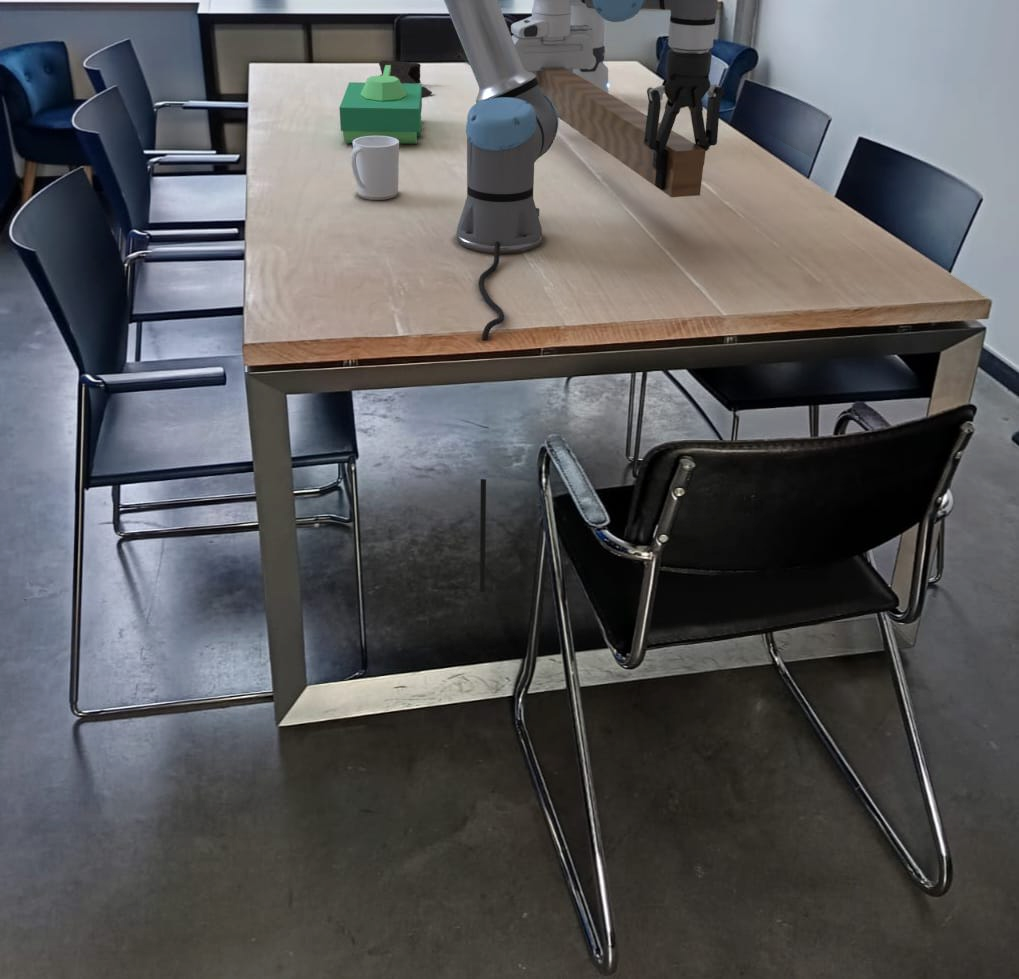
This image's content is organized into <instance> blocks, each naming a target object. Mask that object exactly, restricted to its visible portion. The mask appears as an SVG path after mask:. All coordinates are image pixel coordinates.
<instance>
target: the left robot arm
mask: <svg viewBox="0 0 1019 979" xmlns="http://www.w3.org/2000/svg"><path fill="white" fill-rule="evenodd" d="M578 1H580V2H582V3H584V4H586V5H588V6H590V7H592V8H594V9H596V11H597V13H598V14H599V15H600V16H601V17H602V18H604V19H605V21H607V22H611V23H620V22H625V21H627V20H631V19H632V18H633V17H635V16H636V15H637V14H638V13H639V12H640V11H641V10H642V9H644V10H661V11H662V10H663V11H665V10H669V11H670V17H669V26H668V27H669V28H668V39H667V46H668V47H669V48H670V49H668V50H667V51H666V59H665V77H664V79H663V81H662V84H661V85H659V86H656V87H648V88H647V89H646V95H647V100H648V106H647V113H646V115H647V121H646V129H645V137H644V145H645V146H647V147H648V148H650V149H653V163H652V166H653V169H655V170H656V179H655V186H654V187H656V188H657V189H658V190H660V191H661V190H665V182H666V171H667V161H668V152H666V151H665V147H666V144H667V141H668V138H669V136H670V133H671V130H672V131H673V127H674V124H675V121H676V118H677V116H678V115H679V114H680V111H681V109H683V108H688V110H689V113H690V120H691V125H692V132H693V137H694V144H696V145H698V146H700V147H701V148H703V149H705V153H706V152H707V151H709V150H710V147H711V146H713V147H714V146H716V145H717V143H718V135H719V121H720V110H721V109H720V107H721V101H722V98H723V95H724V93H725V89H724V87H722V86H720V85H718V84H712V83H711V81H710V74H711V66H712V57H713V54H712V52H711V51H710V50H712V49H713V47H714V39H715V30H716V18H717V11H718V4H719V3H718V2H719V0H578ZM443 2H444V4H445V6H446V9H447V12H448V14H449V17H450V19H451V21H452V24H453V27H454V29H455V32H456V34H457V37H458V38H459V41H460V44H461V46H462V48H463V51H464V53H465V56H466V59H468V61H469V63H468V64H469V65H470V69H471V72H472V73H473V76H474V79H475V81H476V83H477V86H478V93H477V96H476V99H475V104H473V105H472V106H471V107H470V109H469V110H468V113H467V120H466V125H465V133H466V192H467V193H466V198H465V202H464V205H463V209H462V211H461V214H460V218H459V220H458V224H457V228H456V241H457V243H458V244H459V245H461V246H462V247H464V248H466V249H468V250H470V251H475V252H479V253H486V254H493V262H492V264H491V266H490V267H489V268H488V269H486V270H485V271H484V272H483V273H481V274H480V277H479V279H478V289H479V292H480V294H481V296H482V298H483V300H484V301H485V303H486V304H487V305H488V306H489V307H490V308H491V309H492V310H494V312H496V314H497V318H495V319H492V320H491V321H489V322H487V324H486V325H485V326H484V328H483V331H482V335H481V341H482V342H487V341H488V338H489V335H490V331H491V330H492V328H494V327H495V326H497V325H500V324H503V322H504V320H505V314H504V311H503V309H502V308H501V307H500V306H499V305H498V304H497V303H495V301H494V300H493V299H492V298H491V297H490V295H489V293H488V292H487V290H486V287H485V280H486V279H487V278H488V277H489V276H490V275H491V274H493V273H494V272H495V271H496V269H497V268H498V266H499V263H500V255H506V254H507V255H508V254H517V253H524V252H527V251H530V250H533V249H536V248H538V247H539V246H540V245H541V244H542V243H543V229H542V224H541V221H540V220H541V219H540V218H539V217H540V208H538V207H537V206H536V204H535V199H534V184H535V181H534V180H535V163H536V162H537V161H538V160H539V159H540V158H541V157H542V156H543V155H545V153H547V152H548V151H549V150H550V148H551V147H552V145H553V144H554V141H555V139H556V136H557V133H558V130H559V118H558V114H557V111H556V108H555V106H554V104H553V102H552V101H551V100H550V98H549V97H548V96H547V95H545V94H544V93H542V91H541V89H540V86H539V84H538V81H537V78H536V76H535V74H533V73H530V72H528V71H526V70H525V69H524V68H523V66H522V63H521V60H520V58H519V55H518V53H517V50H516V48H515V45H514V42H513V40H512V37H511V36H512V35H511V32H510V28H509V27H508V25H507V22H506V19H505V17H504V14H503V11H502V9H501V7H500V4H499V2H498V0H443ZM664 94H665V97H666V98H667V100H666V102H665V106H664V112H663V115H662V117H661V121H660V115H661V108H662V107H661V106H662V102H661V101H662V100H663V99H664V98H663V96H664ZM706 94H707V103H706V104H707V106H706V118H705V119H706V121H705V122H704V114H703V111H704V106H703V100H702V99H703V98H704V97H705V95H706ZM658 123H660V126H659V129H658ZM657 131H658V132H657ZM705 158H706V155H705V156H704V162H705V160H706V159H705ZM704 165H705V163H704V164H703V167H704ZM479 503H480V505H479V506H480V509H479V510H480V512H479V514H480V516H479V517H480V519H479V520H480V521H479V522H480V524H479V525H480V528H479V532H480V533H479V592H480V593H486V540H487V539H486V536H487V533H486V531H487V530H486V529H487V528H486V526H487V525H486V524H487V522H486V521H487V519H486V518H487V479H485V478H480V502H479Z"/></svg>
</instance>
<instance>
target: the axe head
mask: <svg viewBox="0 0 1019 979" xmlns="http://www.w3.org/2000/svg"><path fill="white" fill-rule="evenodd" d="M385 65H391V73H390V76H395V77H396V78H398V79H399V80H400V82H401V83H410V84H422V82H421V63H419V62H410V61H408V62H407V61H397V60H388V59H387V60H380V61H379V62H378V66H379V68H380V72H381V74H379V76H381V75H383V72H384V68H385ZM432 94H433V91H431V90H430V89H428V88H427V87H425V86H422V97H425V96H429V95H432Z"/></svg>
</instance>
